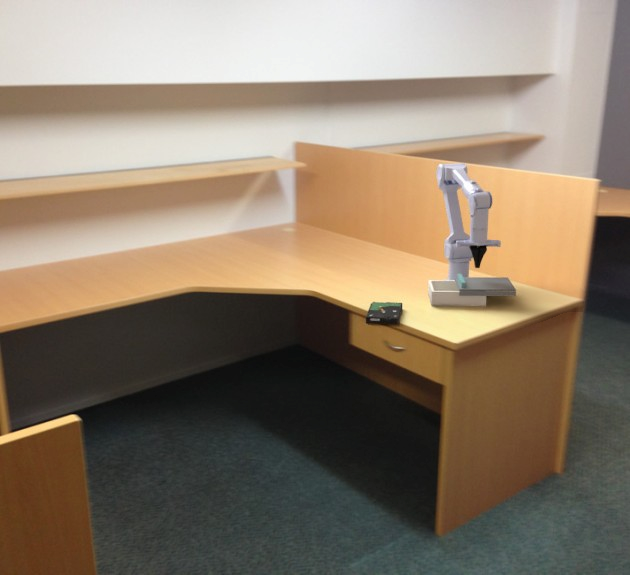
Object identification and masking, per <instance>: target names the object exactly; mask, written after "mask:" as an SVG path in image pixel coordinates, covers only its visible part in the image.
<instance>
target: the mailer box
mask: <svg viewBox="0 0 630 575" xmlns="http://www.w3.org/2000/svg"><path fill="white" fill-rule="evenodd" d="M427 282H428V284H427V285H428V286H427V287H428V288H427V289H428V290H427V294H428V299H429V303H430V306H432V307H486V306H487V296H459V289H458V287H457V284H456V282H455V280H446V279H429V280H428V281H427Z"/></svg>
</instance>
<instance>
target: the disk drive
mask: <svg viewBox="0 0 630 575" xmlns="http://www.w3.org/2000/svg"><path fill="white" fill-rule="evenodd" d="M402 312H403V302H389V301H386V302H383V301H382V302H377V301H372V302H371V303H370V305H369V309H368V311H367V313H366V316H365V323H366V324H377V325H379V324H380V325H396V326H397V325H399V323H400V319H401V315H402Z"/></svg>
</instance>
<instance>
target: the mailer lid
mask: <svg viewBox="0 0 630 575" xmlns="http://www.w3.org/2000/svg"><path fill="white" fill-rule="evenodd" d="M454 280H455V282H456V284H457V287H458V289H459V296H486V297H490V296H492V297H495V296H496V297H497V296H499V297H504V296H505V297H506V296H507V297H516V296H517V289H516V288H515V286H514V284H513V283H512V282H511V280H510V278H509V277H499V276H498V277H494V276H491V277H488V276H487V277H480V276H478V277H477V276H476V277H475V276H474V277H471V276H469V277H463V276H462V274H458V277H454Z"/></svg>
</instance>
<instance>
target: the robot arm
mask: <svg viewBox="0 0 630 575" xmlns="http://www.w3.org/2000/svg"><path fill="white" fill-rule="evenodd" d="M436 168H437V169H436V173H435V175H436V181H437V186H438V189H439V190H440V191H442V194H443V199H444V205H445V210H446V216H447V222H448V227H449V228H448V230H449V236H448V237H446V238H445V240H444V242H443V243H444V246H443V247H444V253H443V254H444V257H445V258H446V259H447V261H448V277H446V278H445V280H454V277H458V274H462V276H463V277H470V262H471V261H472V259H473V264H474V268H475V269H480V267H481V264H482V260H483V258H484V256H485V254H486V252H487V251H488V248H487V247H491V248H493V247H497V248H501V247H502V246H501V244H502V243H501V240H499V239H488V227H489V214H490V213H489V210H490V209H491V208H492V206H493V196H492V194H491V192H490V191H488V190H483V188H482V187H481V186H480V185H479V184H478V182H477V181H476V180H475V179H473V180H472V179H471V178H470V177H469V175H468V166H467V164H466V163H464V162H461V163H439V165H438V166H437V167H436ZM460 189H461V192H462V194H463V195H464V197H465V198H466V199H467V205H468V209H469V211H468V213H469V215H470V222H469V224H470V225H469V234H467V233H466V232H465V229H464V223H463V218H462V213H461V212H462V211H461V207H460V202H459V196H458V190H460Z"/></svg>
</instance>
